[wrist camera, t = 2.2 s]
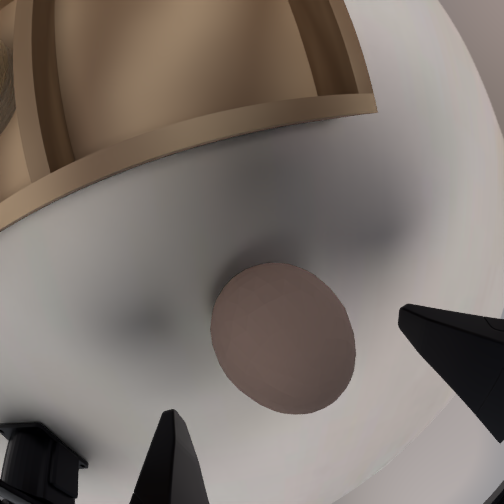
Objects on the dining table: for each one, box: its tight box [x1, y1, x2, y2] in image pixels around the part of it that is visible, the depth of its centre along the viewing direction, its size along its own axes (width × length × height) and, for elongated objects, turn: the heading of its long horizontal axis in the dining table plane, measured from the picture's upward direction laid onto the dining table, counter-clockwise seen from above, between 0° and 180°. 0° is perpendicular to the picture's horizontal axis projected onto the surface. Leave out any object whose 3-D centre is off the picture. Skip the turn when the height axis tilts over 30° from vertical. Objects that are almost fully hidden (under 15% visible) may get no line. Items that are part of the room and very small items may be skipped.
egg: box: [210, 263, 356, 414], centre depth 10 cm, size 5×5×7 cm
